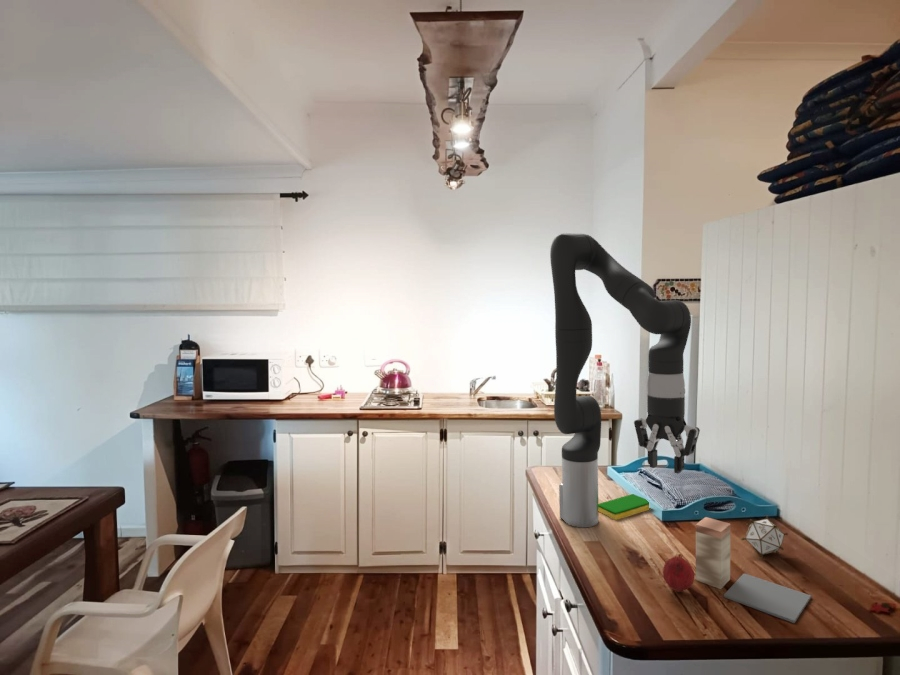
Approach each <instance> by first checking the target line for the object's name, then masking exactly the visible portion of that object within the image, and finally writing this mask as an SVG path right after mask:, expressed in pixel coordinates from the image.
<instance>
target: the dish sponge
mask: <svg viewBox="0 0 900 675" xmlns="http://www.w3.org/2000/svg"><path fill="white" fill-rule="evenodd" d="M647 500H648V499H647ZM647 500H646V498H644V497H642V496H639V495H636V494H634V493H633V494H628V495H624V496H621V497H617V498H613V499H611V500H607V501H603V502H599V503H598V511H599V512H598V513H600V512H601V514H602V513H603V514H602V515H604V514H605V515H604V516H606V515H607V517H608V516H609V517H608V518H610V519H612V520H616V521H617V520H621V519H623V518H627V517H630V516H633V515H636V514H637V515H638V514H639V513H642V512H643V513H644V512H647V511H649V502H648V501H647Z"/></svg>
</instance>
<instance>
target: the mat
mask: <svg viewBox="0 0 900 675" xmlns="http://www.w3.org/2000/svg"><path fill="white" fill-rule="evenodd" d="M723 598H725V599H728V600H731V601H733V602H736V603H739V604H741V605H745V606H747V607H749V608H752V609H755V610H757V611H760V612H762V613H765V614H768V615H771V616H773V617H776V618H779V619H781V620H784V621H786V622H789V623H792V624H795V623H796V622H797V620H798V619H799V617H800V616H801V614H802V613H803V611H804V610H805V608H806V606H807V605H808V603H809V601H810V600H811V599H812V595H811V594H807V593H804V592H802V591H798V590H796V589H792V588H789V587H786V586H784V585H781V584H778V583H776V582H775V583H774V582H772V581H769V580H765V579H763V578H759V577H757V576H755V575H750V574H748V573H745V572H744V573H742V575H740V577H739V578H738V579H737V580H736V581H735V582H734V583H733V584H732V585H731V587H730V588H729V589H728V590H727V591H726V592H725V593H724V594H723Z"/></svg>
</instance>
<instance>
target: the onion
mask: <svg viewBox="0 0 900 675" xmlns="http://www.w3.org/2000/svg"><path fill="white" fill-rule="evenodd" d="M694 571H695V570H694V568H693V567H692V566H691V563H689V562H688V560H687V559H685V558H683V554H682V553H681V552H676V554H675V555H674V557H671V558H669V559H668V560H666V562H665V563H664V566H663V569H662V575H663V578H664V582H665V583H666V584H667V585H668V587H670V589H672V590H673V591H676V592H677V593H682V592H684V591H687V590H688V589H689V588H691V587H692V586H693V584H694V581H695V572H694Z"/></svg>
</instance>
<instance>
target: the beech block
mask: <svg viewBox="0 0 900 675" xmlns="http://www.w3.org/2000/svg"><path fill="white" fill-rule="evenodd" d="M731 527H732V525H731V523H728V522H726V521H722V520H718V519H714V518H711V517H707V516H705V517H704V518H702V519H701V520H699V521H698V522H697V523H696V524H695V581H697V582H700V583H703V584H706V585H708V586H711V587H714V588H716V589H719V590H722V588H724V587H725V586H726V584H727V583H728V582H729V581H730V580H731V529H732V528H731Z"/></svg>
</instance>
